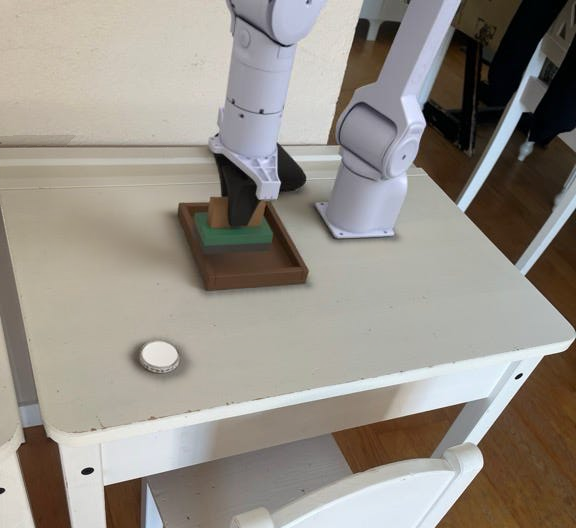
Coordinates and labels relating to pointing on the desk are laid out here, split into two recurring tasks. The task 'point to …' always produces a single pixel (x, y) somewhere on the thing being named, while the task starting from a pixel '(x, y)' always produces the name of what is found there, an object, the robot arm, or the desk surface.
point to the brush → (231, 230)
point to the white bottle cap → (159, 356)
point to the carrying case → (287, 170)
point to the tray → (246, 256)
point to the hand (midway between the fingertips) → (235, 218)
